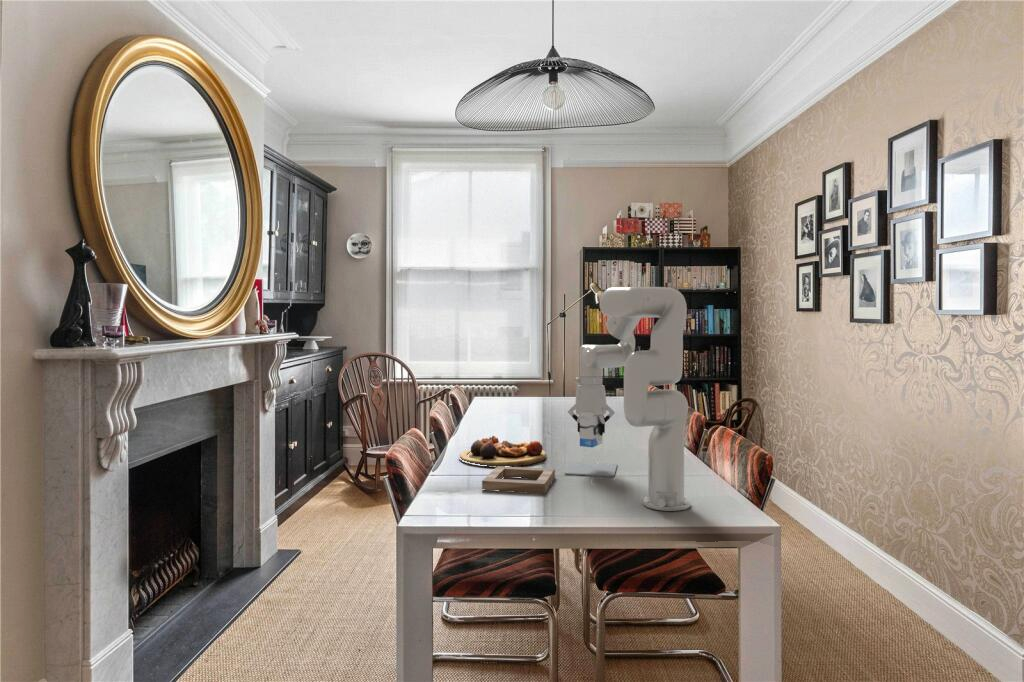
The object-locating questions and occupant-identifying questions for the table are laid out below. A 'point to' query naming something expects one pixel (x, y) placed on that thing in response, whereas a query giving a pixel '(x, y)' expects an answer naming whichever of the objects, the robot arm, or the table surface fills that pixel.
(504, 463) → the wooden plate with food
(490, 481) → the square wooden frame
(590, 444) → the ink box
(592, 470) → the slate grey mat
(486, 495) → the table surface
